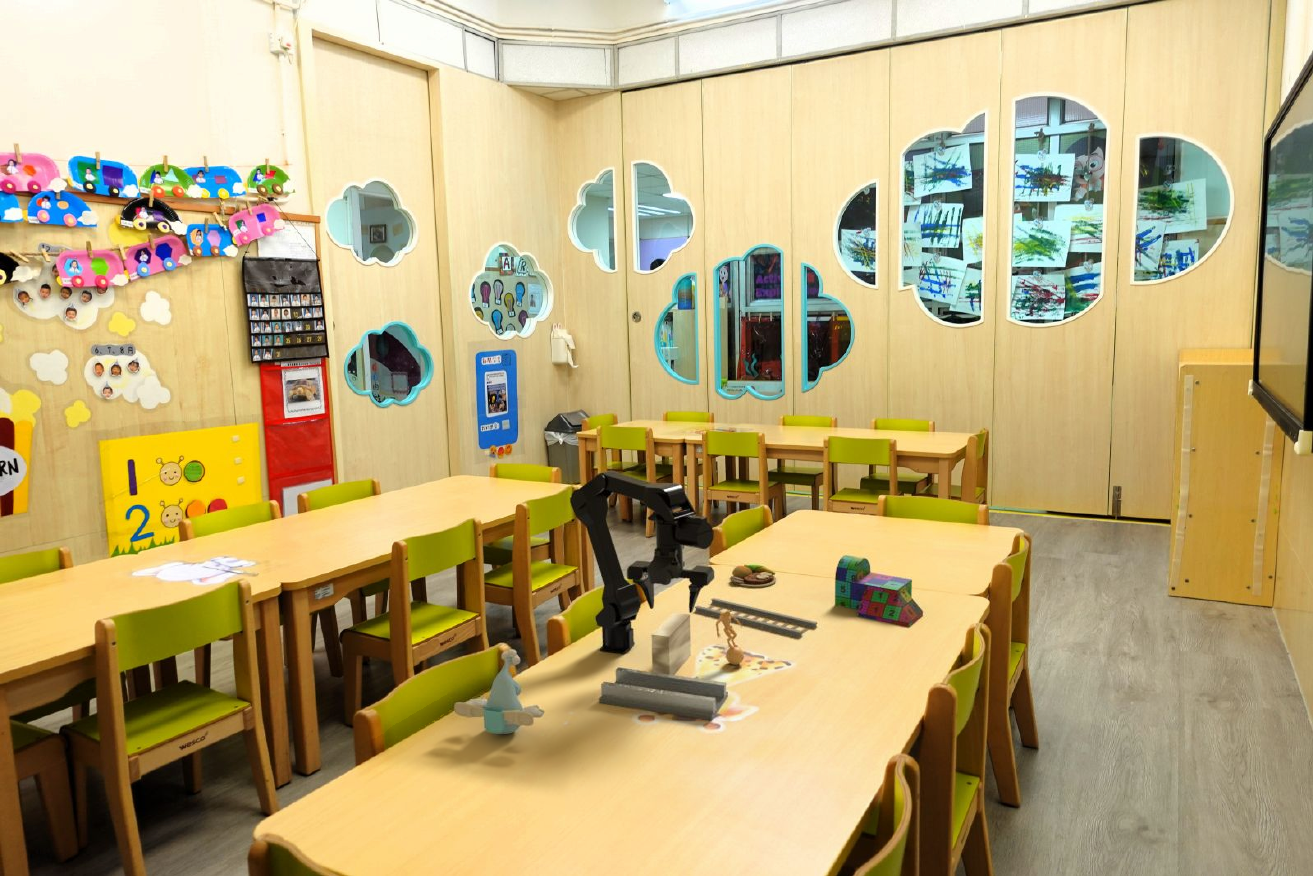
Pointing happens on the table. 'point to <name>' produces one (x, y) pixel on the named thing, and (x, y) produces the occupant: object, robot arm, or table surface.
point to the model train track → (754, 621)
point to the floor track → (665, 693)
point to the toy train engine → (874, 593)
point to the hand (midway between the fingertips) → (671, 610)
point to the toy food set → (753, 576)
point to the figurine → (730, 638)
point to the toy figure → (501, 703)
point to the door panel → (671, 644)
